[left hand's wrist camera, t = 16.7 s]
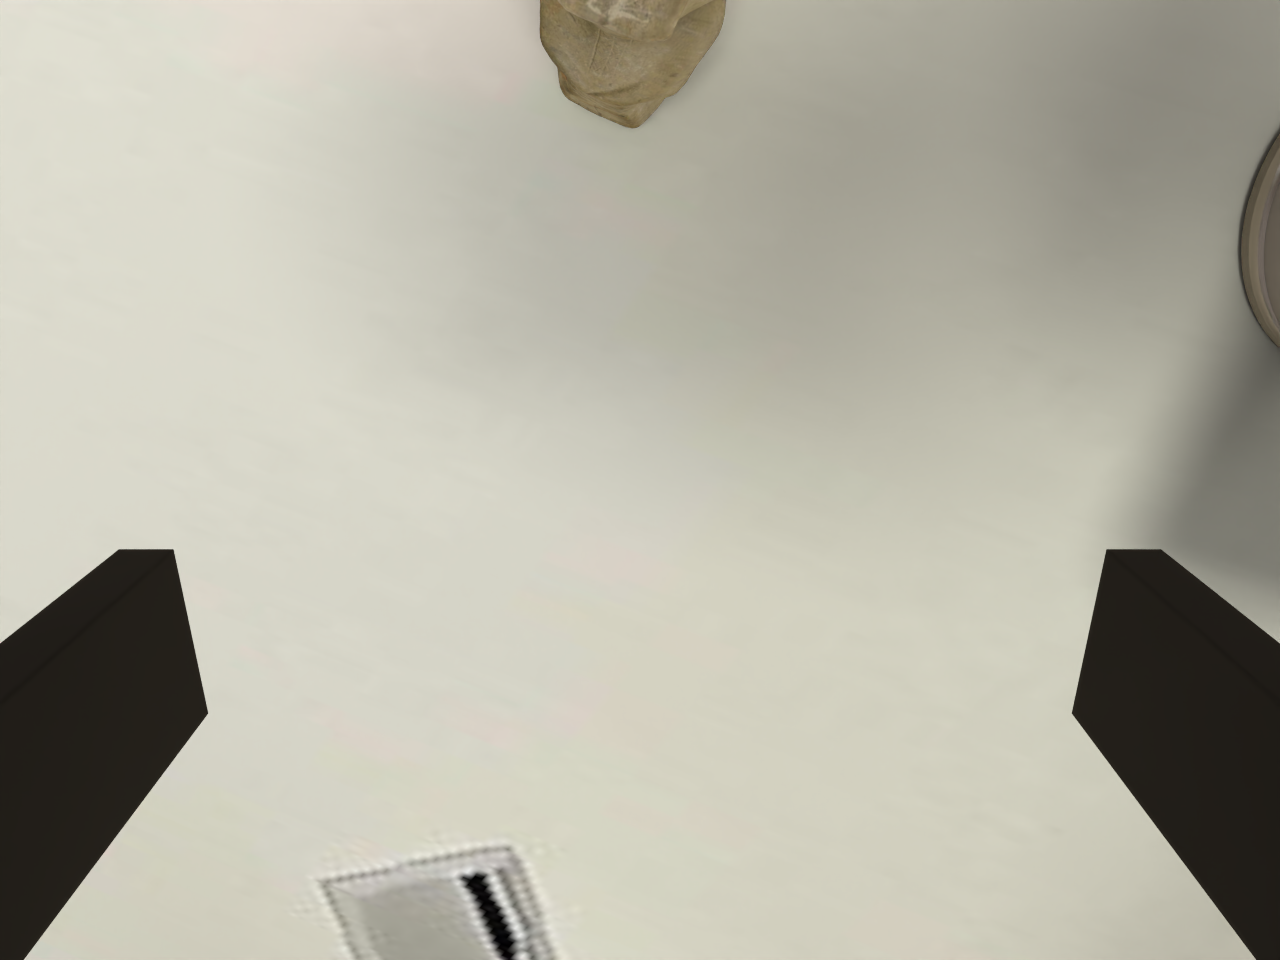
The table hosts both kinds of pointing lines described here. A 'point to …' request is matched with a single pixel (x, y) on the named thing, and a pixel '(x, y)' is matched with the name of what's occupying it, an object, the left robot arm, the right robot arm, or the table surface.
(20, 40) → the table surface
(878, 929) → the table surface
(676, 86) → the sculpture
